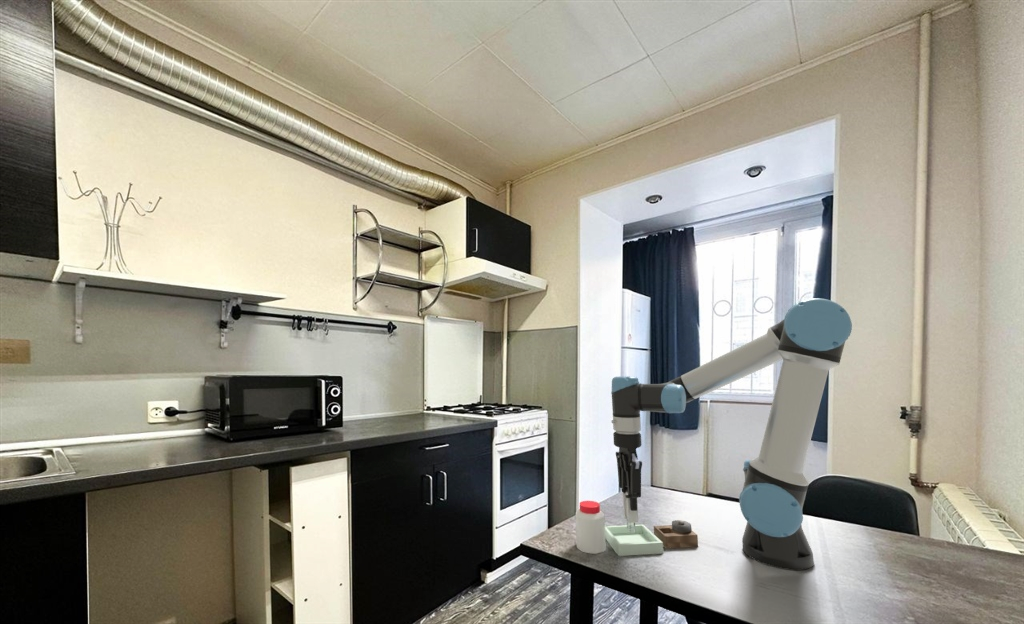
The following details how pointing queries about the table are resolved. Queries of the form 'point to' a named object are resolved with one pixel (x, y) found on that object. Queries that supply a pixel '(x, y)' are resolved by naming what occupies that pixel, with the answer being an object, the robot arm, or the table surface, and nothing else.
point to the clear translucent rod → (629, 525)
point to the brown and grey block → (676, 535)
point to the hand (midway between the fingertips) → (630, 519)
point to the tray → (633, 540)
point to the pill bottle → (590, 528)
